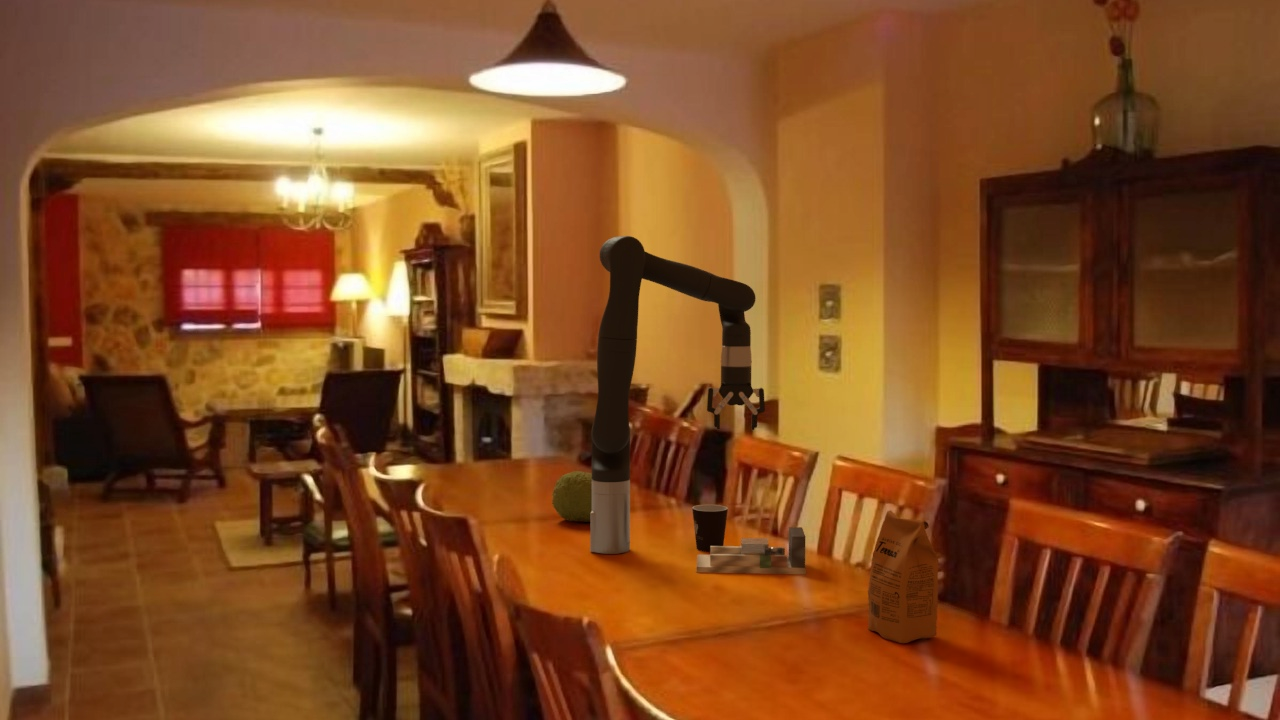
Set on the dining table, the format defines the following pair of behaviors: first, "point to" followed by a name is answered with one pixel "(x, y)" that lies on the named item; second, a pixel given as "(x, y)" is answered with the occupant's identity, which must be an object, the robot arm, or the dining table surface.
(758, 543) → the plunger
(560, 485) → the fruit
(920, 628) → the coffee package
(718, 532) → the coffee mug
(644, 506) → the dining table surface
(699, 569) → the gauge bed
